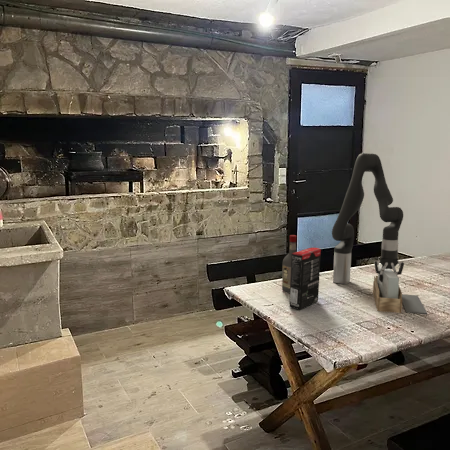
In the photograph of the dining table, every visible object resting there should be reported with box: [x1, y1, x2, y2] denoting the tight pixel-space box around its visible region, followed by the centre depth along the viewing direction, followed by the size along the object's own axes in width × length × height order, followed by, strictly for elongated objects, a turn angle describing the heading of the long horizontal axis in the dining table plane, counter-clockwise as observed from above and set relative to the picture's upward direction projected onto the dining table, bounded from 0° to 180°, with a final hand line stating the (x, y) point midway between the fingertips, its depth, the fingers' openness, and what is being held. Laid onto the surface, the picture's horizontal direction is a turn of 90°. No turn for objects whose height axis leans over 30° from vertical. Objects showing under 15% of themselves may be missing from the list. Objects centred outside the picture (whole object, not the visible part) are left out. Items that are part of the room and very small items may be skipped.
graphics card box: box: [288, 247, 322, 311], centre depth 218 cm, size 17×7×27 cm, turn 139°
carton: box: [372, 275, 403, 314], centre depth 222 cm, size 11×27×10 cm, turn 167°
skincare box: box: [377, 265, 400, 299], centre depth 221 cm, size 21×5×16 cm, turn 175°
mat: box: [402, 293, 428, 315], centre depth 220 cm, size 9×25×1 cm, turn 167°
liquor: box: [281, 234, 297, 294], centre depth 239 cm, size 9×9×30 cm
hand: (387, 281), depth 221 cm, fingers closed on skincare box, 5 cm apart
